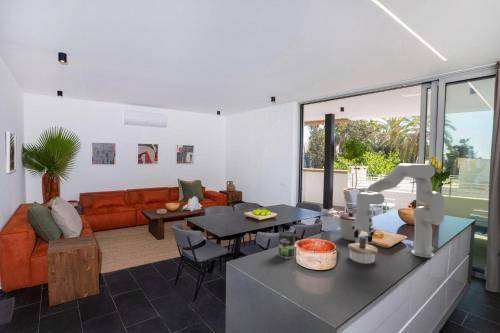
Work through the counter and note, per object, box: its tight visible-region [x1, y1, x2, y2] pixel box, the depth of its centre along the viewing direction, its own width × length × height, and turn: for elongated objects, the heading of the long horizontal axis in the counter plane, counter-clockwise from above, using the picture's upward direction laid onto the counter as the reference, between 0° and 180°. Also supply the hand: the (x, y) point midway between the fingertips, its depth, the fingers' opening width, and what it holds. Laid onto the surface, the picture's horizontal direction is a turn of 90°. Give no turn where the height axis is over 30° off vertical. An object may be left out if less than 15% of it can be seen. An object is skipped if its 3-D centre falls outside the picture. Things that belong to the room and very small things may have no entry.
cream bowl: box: [349, 250, 376, 264], centre depth 163 cm, size 14×14×6 cm
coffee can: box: [278, 231, 296, 259], centre depth 167 cm, size 10×10×14 cm
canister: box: [338, 211, 362, 242], centre depth 203 cm, size 18×18×21 cm
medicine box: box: [354, 234, 369, 245], centre depth 184 cm, size 8×4×9 cm, turn 105°
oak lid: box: [347, 237, 378, 255], centre depth 163 cm, size 17×17×7 cm
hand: (363, 239), depth 163 cm, fingers open, 9 cm apart
